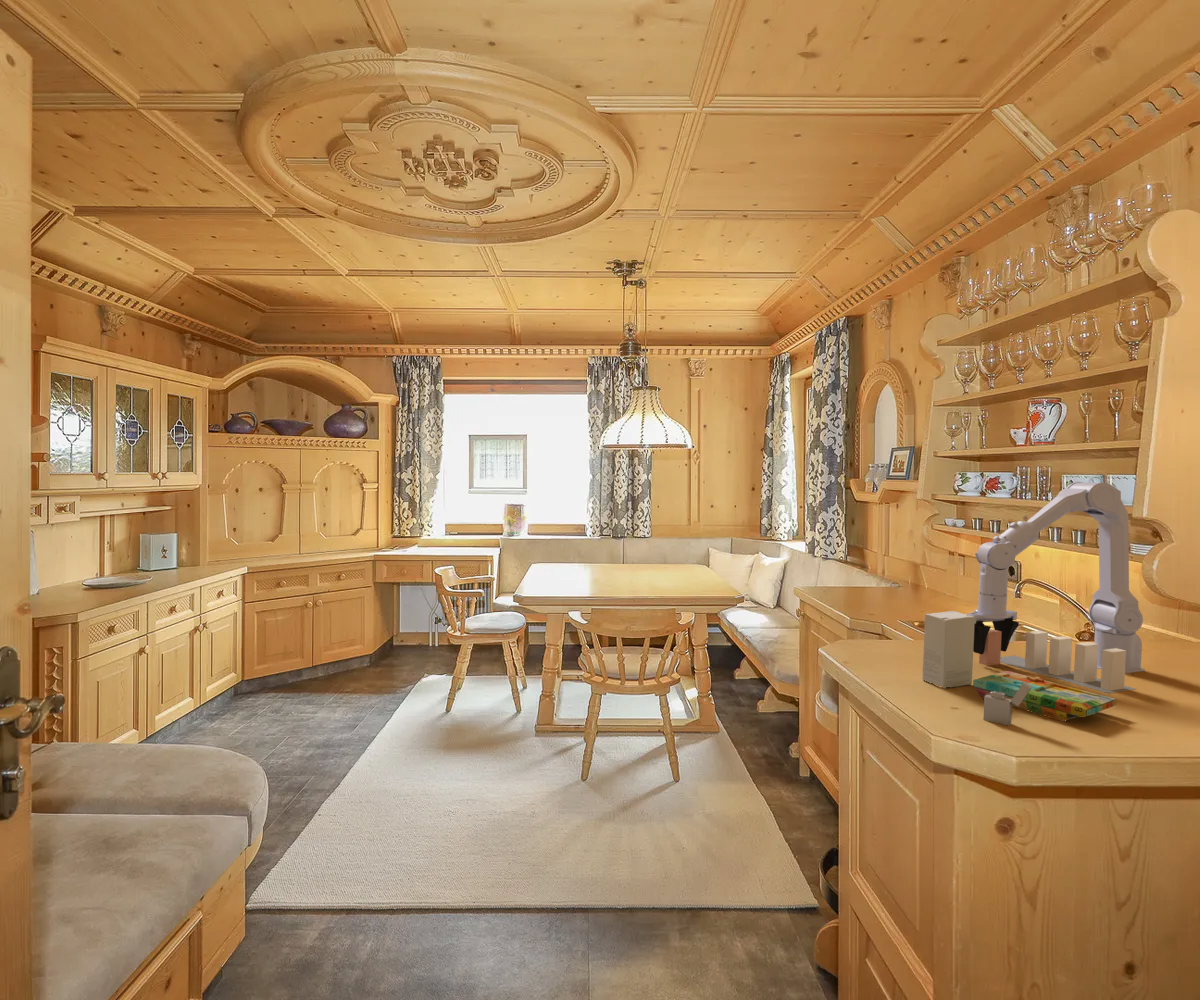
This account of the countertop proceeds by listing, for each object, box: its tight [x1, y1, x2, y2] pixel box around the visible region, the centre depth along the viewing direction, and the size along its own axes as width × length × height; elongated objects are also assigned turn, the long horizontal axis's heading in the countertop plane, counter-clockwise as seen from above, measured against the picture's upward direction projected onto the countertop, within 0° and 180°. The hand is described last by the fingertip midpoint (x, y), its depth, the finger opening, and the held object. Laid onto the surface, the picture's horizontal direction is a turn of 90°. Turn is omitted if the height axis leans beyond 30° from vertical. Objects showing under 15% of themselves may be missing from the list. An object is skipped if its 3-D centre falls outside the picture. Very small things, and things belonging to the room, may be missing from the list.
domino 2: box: [1024, 630, 1049, 669], centre depth 158 cm, size 4×2×8 cm, turn 113°
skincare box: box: [921, 610, 975, 689], centre depth 145 cm, size 8×6×15 cm
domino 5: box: [1100, 648, 1126, 691], centre depth 143 cm, size 4×2×8 cm, turn 113°
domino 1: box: [978, 629, 1002, 666], centre depth 160 cm, size 4×2×8 cm, turn 113°
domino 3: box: [1048, 635, 1073, 676], centre depth 153 cm, size 4×2×8 cm, turn 113°
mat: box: [1000, 655, 1136, 695], centre depth 154 cm, size 9×27×1 cm, turn 23°
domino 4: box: [1073, 641, 1098, 683], centre depth 148 cm, size 4×2×8 cm, turn 113°
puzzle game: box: [972, 670, 1118, 722], centre depth 131 cm, size 12×5×20 cm
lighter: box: [982, 682, 1032, 727], centre depth 122 cm, size 7×2×8 cm, turn 46°
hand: (989, 651), depth 160 cm, fingers open, 7 cm apart
